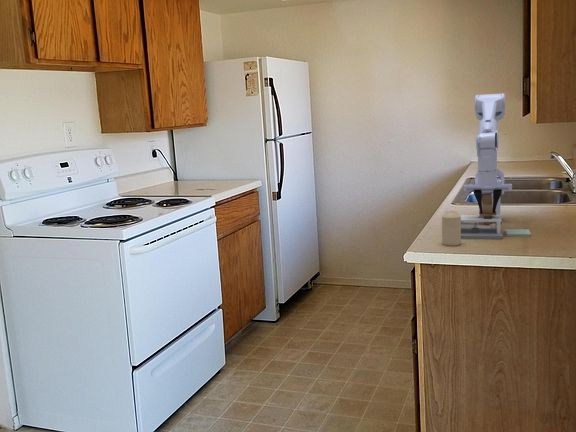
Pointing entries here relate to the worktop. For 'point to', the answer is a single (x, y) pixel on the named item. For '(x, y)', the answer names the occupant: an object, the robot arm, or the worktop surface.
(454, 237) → the candle
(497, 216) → the breaker housing
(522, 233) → the mat
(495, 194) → the robot arm
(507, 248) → the worktop surface
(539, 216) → the worktop surface
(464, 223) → the rocker switch
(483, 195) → the brown block
